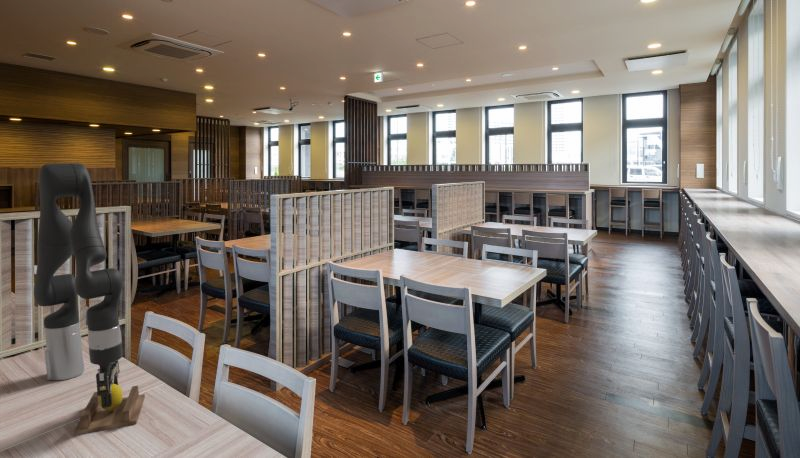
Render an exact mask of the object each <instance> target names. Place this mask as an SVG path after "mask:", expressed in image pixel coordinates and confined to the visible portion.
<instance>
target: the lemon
mask: <svg viewBox="0 0 800 458" xmlns="http://www.w3.org/2000/svg"><path fill="white" fill-rule="evenodd" d="M103 390H106V387H105V386H104V387H103ZM123 394H124V393H123V389H122V388H121V386H120V385H119V384H118V385H116V384H113V385H112V386H111V397H112V405H111V407H106V408H103V407H102V402H101V396H99V403H100V406H101V407H102V408H103V409H105V410H109V411H113V410H114V409H115V408H117V407H118V406H119V405H120V404H121V402H122V398H124V395H123Z"/></svg>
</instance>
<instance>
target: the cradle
mask: <svg viewBox="0 0 800 458" xmlns="http://www.w3.org/2000/svg"><path fill="white" fill-rule="evenodd" d="M145 399H146V395H145V394H140V390H139V385H133V386H132V387H131V389H130V391H129V394H128V396H126V397H124V396H123V398H122V402H121V404H120V405H119V406H118V407H117V408H115V409H114V410H113V411H109V410H105V409H103V408H102V407H101V406H100V403H99V396H98V395H97V391H95V392H93V394H92V395H91V398H90V400H88V404H87V405H86V407H85V409H84V410H83V412H82V414H81V416H80V418H79V420H78V422H77V425H76V427H75V428H74V430H73V436H75V435H82V434H87V433H93V432H98V431H104V430H110V429H115V428H121V427H122V428H123V427H127V426H132V425H137V424H138V421H139V417H140V415H141V411H142V408H143V406H144V405H143V404H144V401H145Z"/></svg>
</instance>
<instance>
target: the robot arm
mask: <svg viewBox="0 0 800 458" xmlns="http://www.w3.org/2000/svg"><path fill="white" fill-rule="evenodd" d="M38 173H39V174H38V190H39V223H38V224H39V225H38V235H37V266H36V270H35V271H36V272H35V278H34V283H33V284H34V285H33V296H34V301H35V303H36V304H37V305H38V306H40V307H53V306H56V305H62V304H63V305H62V306H61V307H59V308H58V309H57V310H56V311H53V312H52V313H50V314H47V316H45V317H44V318H43V328H44V337H45V338H44V339H45V345H46V346H45V347H46V350H45V351H44V359H45V360H44V361H45V369H46V377H47V378H46V379H47V381H65V380H70V379H72V378H75V377H78V376H80V375H82V374H83V373H84V372H85V363H84V354H83V344H82V343H83V342H82V335H81V325H80V312H79V297H80V298H82V299H83V300H91V299H95V298H101V297H104V298H103V299H102V301H100V302H98V303H97V304H94V305H91V306H90V307H89V308H88V309H87V310H86V319H87V320H86V321H87V343H88V344H87V345H88V354H89V355H88V356H89V362H90V363H91V364H92V365H97V366H99V368H98V369H97V373H95V380H96V390H97V391H96V392H97V395H98V396H101V402H102V407H103V408H106V407H111V405H112V397H111V386H112V385H113V384H116V385H118V386H119V381H118V379H119V373H120V371H121V370H120V365H119V360H121V359H122V357H123V356H124V353H123V352H124V351H123V341H122V339H123V338H122V331H121V328H120V320H119V304H120V300H121V299H120V298H121V295H122V292H123V288H124V279H123V275H122V273H121V271H119V270H118V269H116V268H113V267H112V268H105V269H98V270H90V268H91V267H94V266H97V265H99V264H101V263H103V262H104V261H106V260H107V257H108V256H107V251H106V247H105V246H104V245H105V244H104V242H103V238H102V235H101V232H100V229H99V223H98V217H97V210H96V204H95V196H94V195H95V194H94V191H93V185H92V179H91V177H90V173H89V171H88V168H87V167H86V166H85V165H84V164H82V163H78V162H77V163H76V162H73V163H72V162H71V163H64V162H63V163H45V164H43V165H41V167H40V169H39V172H38ZM68 197H70V198H71V197H78V198H79V203H80V204H79V210H78V212H77V215H76V217H75V219H74V221H73V222H72V220H71V219H70V218H69V217H68V216H67V215H66V214H65V213H64V212H63V211H62V210H61V209H60V207H59V206H58V204H57V199H58V198H68ZM71 256H74V258H75V259H74V260H75V269H76V270H75V271H76V272H75V276H74V275H73V274H72V273H64V274H58V275H57V274H56V272H57V271H58V270H60V269H59V268H61V267H62V266H63V265H64V264H65V263H66V262H67V261H68V260H69V259H70V258H71ZM54 274H56V275H54ZM103 387H106V390H103Z"/></svg>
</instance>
